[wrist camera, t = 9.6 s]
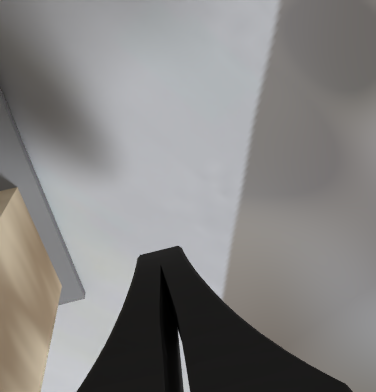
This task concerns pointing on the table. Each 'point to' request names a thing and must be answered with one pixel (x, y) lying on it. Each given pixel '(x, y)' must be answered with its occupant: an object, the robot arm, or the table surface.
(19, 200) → the domino
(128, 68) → the table surface
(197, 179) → the table surface
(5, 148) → the domino mat
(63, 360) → the table surface
